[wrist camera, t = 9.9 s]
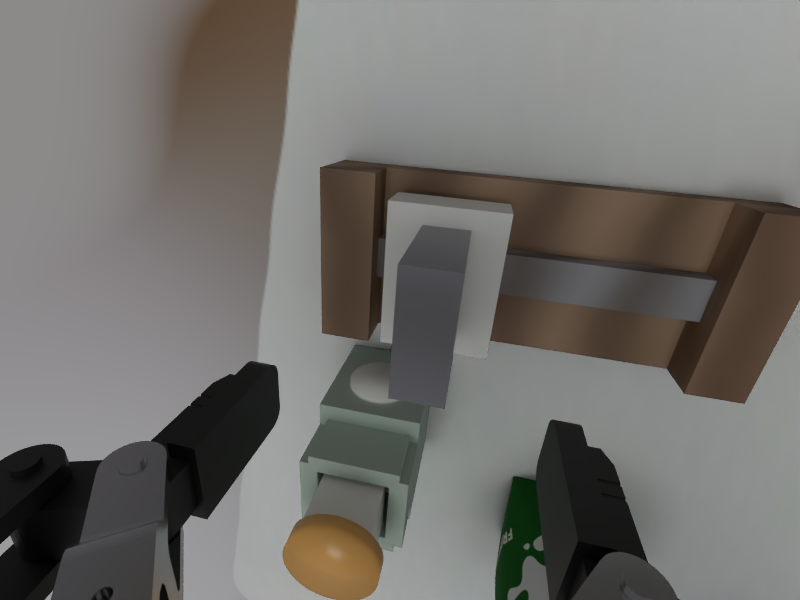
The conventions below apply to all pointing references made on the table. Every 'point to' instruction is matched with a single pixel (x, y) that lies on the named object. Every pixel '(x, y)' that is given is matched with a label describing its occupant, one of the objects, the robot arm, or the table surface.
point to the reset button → (339, 540)
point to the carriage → (439, 288)
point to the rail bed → (591, 269)
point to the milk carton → (521, 547)
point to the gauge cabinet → (368, 439)
